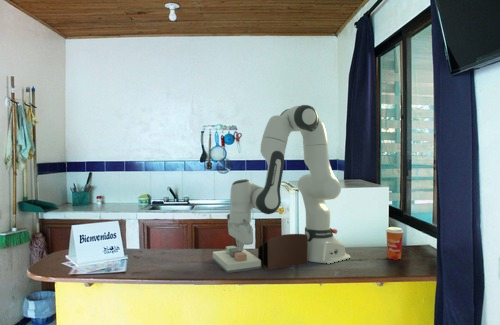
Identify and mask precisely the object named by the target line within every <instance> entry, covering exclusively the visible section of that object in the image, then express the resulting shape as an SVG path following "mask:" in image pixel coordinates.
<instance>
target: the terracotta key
mask: <svg viewBox="0 0 500 325" xmlns="http://www.w3.org/2000/svg"><path fill="white" fill-rule="evenodd" d="M234 259H235V260H236V261H237V262H238V261H246V260H247V254H246V253H244V252H238V253H235V258H234Z"/></svg>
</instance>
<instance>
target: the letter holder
mask: <svg viewBox="0 0 500 325" xmlns="http://www.w3.org/2000/svg"><path fill="white" fill-rule="evenodd" d="M307 248H308V238H307V235H306V234H305V233H292V234H291V233H290V234H280V235H277V236H272V237H269V238H268V239H267V241H265V242H264V243H262V244H261V245H259V246H258V247H257V249H258V250H257V252H258V253H257V258H258V259H260V260H261V267H263V268H265V269H266V270H268V271H269V270H276V269H284V268H288V267H289V268H290V267H296V266H302V265H308V261H307Z"/></svg>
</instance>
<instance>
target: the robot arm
mask: <svg viewBox="0 0 500 325" xmlns="http://www.w3.org/2000/svg"><path fill="white" fill-rule="evenodd" d="M292 132H300V134H301V136H302V145H303V146H302V147H303V160H304V164H305V165H306V166H307V168H308V170H309V173H307V174H304V175H302V176H301V177H300V178H298V180H297V189H298V191H299V192H300V194H301V197H302V200H303V204H304V209H305V227H304V234H306V235H307V238H308V248H307V262H312V263H322V264H326V263H327V264H326V265H328V264H329V265H330V263H331V264H334V262H335V263H338V261H339V262H343V261H345V260H346V259H347V260H350V259H351V255H350V254H348V253H346V249H345V244H344V243H343V242H341V241H340V240H339V239H337V238H336V237H335V236H334V234H335V235H336V234H337V233H338V230H337V229H336V228H331V211H330V208H328V206H327V203H326V200H327V201H328V200H335V199H337V198H338V197H339V195H340V193H341V190H342V186H341V182H340V181H339V180H338V178H337V177H336V176H335V174H334V172H333V169H332V166H331V163H330V157H329V155H330V154H329V148H328V147H329V146H328V144H329V143H328V136H327V130H326V128H325V124H324V123H323V122H322V121H320V119H319V116H318V112H317V111H316V109H315V108H314V107H313V106H312V105H309V104H302V105H296V106H295V105H294V106H293V107H290V108H287V109H285V110H284V111H282V112H281V113H280V115H279V114H278V115H272V116H271V117H270V118H269V119H268V121H267V123H266V126H265V128H264V132H263V135H262V138H261V142H260V149H259V150H260V154H261V156H262V157H263V158H264V160H265V161H266V164H267V172H266V176H265V177H266V178H265V183H264V186H259V185H257V184H255V183H253V182H252V181H250V180H249V179H238V180H236V181H233V182H232V184H231V187H230V210H229V212H230V213H227V215H226V219H227V231H228V235H229V236H231V237H232V238H234V239H235V243H236V244H235V245H236V247H237V249H238V250H239V251H243V249H244V247H245V245H246V246H249V245H253V244H254V230H253V226H252V225H251V224H250V223H251V222H252V221H251V220H252V209H255V210H257V211H260V212H261V213H263V214H265V215H272V214H274V213H275V212H277V211H278V210H279V208H280V207H281V203H282V201H281V200H282V198H281V185H282V177H283V173H284V166H285V154H286V149H287V145H288V140H289V136H290V134H291V133H292ZM349 258H350V259H349ZM342 260H343V261H342Z"/></svg>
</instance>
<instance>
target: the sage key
mask: <svg viewBox="0 0 500 325" xmlns="http://www.w3.org/2000/svg"><path fill="white" fill-rule="evenodd" d="M231 249H237V246H236V245H228V246H225V250H226V253H227V254H228V255H229V254H230V250H231Z"/></svg>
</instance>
